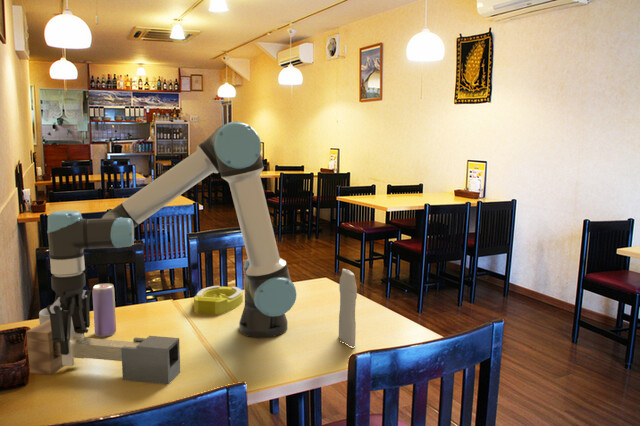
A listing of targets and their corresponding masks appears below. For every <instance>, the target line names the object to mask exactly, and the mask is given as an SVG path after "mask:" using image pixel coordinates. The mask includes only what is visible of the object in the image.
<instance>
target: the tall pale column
mask: <svg viewBox="0 0 640 426" xmlns="http://www.w3.org/2000/svg"><path fill="white" fill-rule="evenodd" d="M356 283H357V282H356V276H355V274H354V272H352V271H351V270H350V269H346V268H342V269H341V275H340V278H339V287H338V288H339V313H338V315H339V316H338V338H339V337H340V339H339V342H340V341H341V342H344V343H346V344H348V345H349V346H352V347H354V346H355V347H356V334H357V333H356V331H357V330H356V328H357V323H356V306H357V305H356V303H357V301H356V300H357V296H358V286H357V284H356Z"/></svg>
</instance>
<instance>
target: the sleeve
mask: <svg viewBox="0 0 640 426" xmlns="http://www.w3.org/2000/svg"><path fill="white" fill-rule="evenodd" d="M132 342H140V344H138V345H137V346H136V347H125V346H123V347H122V348H121V354H122V361H121V369H122V381H127V382H128V381H129V382H139V383H148V384H158V385H167V384H169V383H170V382H171V381H172V382H173V380H175V378H176V377H177V376H178V375H179V374H180V373H181V355H180V353H181V351H180V350H181V349H180V337H172V336H171V337H170V336H169V337H168V336H159V335H158V336H157V335H148V336H147V337H134V338H133V341H132ZM172 382H171V383H172ZM171 383H170V384H171ZM170 384H169V385H170Z"/></svg>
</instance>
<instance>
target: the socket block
mask: <svg viewBox="0 0 640 426" xmlns="http://www.w3.org/2000/svg"><path fill="white" fill-rule="evenodd" d="M25 333H26V342H27V343H26V344H27V354H28V355H27V356H28V357H27V358H28V366H29V365H30V370H29V373H30V374H39V375H48V376H49V375H50V376H51V375H53V374H55V373H56V372H58V371H59V370H60V369H62V368H64V367H65V365H62V356H59V355H54V351H53V339H52V331H51V322H50V320H48V321H46V322H44V323H42V324H40V323H39V324H38V325H36V326H34V327H32V328H30V329H28V330H26V332H25ZM70 337H71V332H70Z"/></svg>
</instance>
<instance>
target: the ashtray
mask: <svg viewBox="0 0 640 426" xmlns="http://www.w3.org/2000/svg"><path fill="white" fill-rule="evenodd" d="M243 295H244V294H243V290H242V289H241V288H239V287H237V286H220V285H212V286H208V287H204V288H201V289H200V290H198V292H197V293H196V294H195V296H193V312H194V313H195V314H200V315H201V314H202V315H212V316H213V315H215V316H220V315H223V314H225V313H228V312H230V311H232V310H234V309H236V308H238V307H239V306H241V305H242V304H243V303H244V301H243V299H244V297H243ZM241 303H242V304H241ZM240 304H241V305H240ZM237 306H238V307H237Z"/></svg>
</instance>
